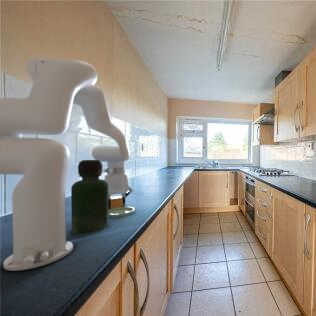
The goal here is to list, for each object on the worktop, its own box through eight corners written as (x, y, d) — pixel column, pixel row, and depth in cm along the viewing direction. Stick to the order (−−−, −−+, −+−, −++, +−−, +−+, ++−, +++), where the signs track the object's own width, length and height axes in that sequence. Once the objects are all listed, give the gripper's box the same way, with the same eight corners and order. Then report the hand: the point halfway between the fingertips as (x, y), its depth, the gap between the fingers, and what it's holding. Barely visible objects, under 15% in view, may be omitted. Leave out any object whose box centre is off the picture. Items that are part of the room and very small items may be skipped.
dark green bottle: (70, 237, 59) (70, 161, 59) (72, 227, 68) (72, 159, 67) (109, 229, 66) (109, 160, 65) (107, 221, 74) (107, 159, 73)
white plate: (136, 214, 83) (136, 211, 83) (107, 219, 75) (107, 216, 75) (131, 208, 91) (131, 205, 91) (104, 212, 84) (104, 209, 83)
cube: (122, 207, 92) (122, 197, 92) (110, 209, 89) (110, 199, 88) (121, 205, 96) (121, 195, 96) (109, 206, 92) (109, 197, 92)
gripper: (95, 172, 83) (95, 212, 84) (137, 170, 94) (136, 205, 95) (94, 171, 89) (94, 208, 89) (133, 169, 100) (133, 202, 101)
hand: (116, 206), depth 92 cm, fingers closed on cube, 5 cm apart
